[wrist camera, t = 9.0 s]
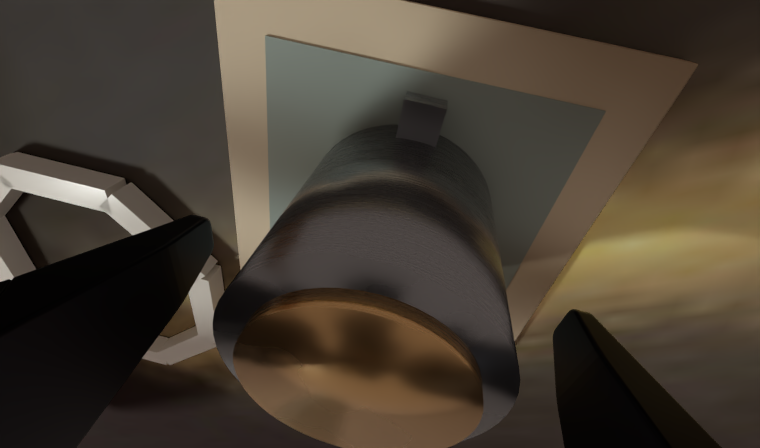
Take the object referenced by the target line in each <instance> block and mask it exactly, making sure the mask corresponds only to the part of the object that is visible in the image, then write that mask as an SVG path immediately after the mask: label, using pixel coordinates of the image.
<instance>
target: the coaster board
mask: <svg viewBox="0 0 760 448" xmlns="http://www.w3.org/2000/svg"><path fill="white" fill-rule="evenodd" d="M214 5H215V15H216V25H217V36H218V46H219V56H220V66H221V77H222V87H223V97H224V107H225V117H226V128H227V138H228V148H229V158H230V169H231V179H232V189H233V199H234V209H235V220H236V230H237V240H238V250H239V261H240V270H241V269H242V267H243V266H244V265H245V263H246V262H247V261H248V259H249V258H250V257H251V255H252V254H253V253H254V251H255V250H256V248H257V247H258V246H259V244H260V243H261V242H262V240H263V239H264V238H265V236H266V235H267V234H268V232H269V231H270V229H271V228H272V227H273V225H274V224H275V223H276V221H277V220H278V219H279V217H280V216H281V215H282V213H283V212H284V210H285V209H286V208H287V206H288V205H289V204H290V202H291V201H292V200H293V198H294V197H295V196H296V194H297V193H298V192H299V190H300V189H301V187H302V186H303V185H304V183H305V182H306V181H307V179H308V178H309V177H310V175H311V174H312V173H313V171H314V170H315V168H316V167H317V166H318V164H319V163H320V162H321V160H322V159H323V158H324V156H325V155H326V154H327V153H328V152H329V151H330V150H331V149H332V147H333V146H335V145H336V144H337V143H339V142H340V141H341V140H342V139H344V138H346V137H348V136H349V135H351V134H353V133H355V132H358V131H361V130H363V129H366V128H371V127H375V126H381V125H398V124H399V120H400V115H401V111H402V106H403V101H404V98H405V95H406V93H407V91H409V92H414V93H418V94H422V95H426V96H430V97H435V98H439V99H443V100H447V111H446V114H445V117H444V121H443V124H442V128H441V131H440V134H439V135H441V136H443V137H445V138H447V139H448V140H450V141H452V142H453V143H455V144H456V145H458V146H459V147H460V148H461V149H462V150H464V151H465V152H466V153H467V154H468V155H469V156H470V157H471V159H472V160H473V161H474V162H475V163H476V165H477V166H478V168H479V169H480V171H481V172H482V174H483V176H484V178H485V180H486V182H487V185H488V189H489V192H490V197H491V203H492V209H493V215H494V221H495V227H496V233H497V239H498V245H499V251H500V257H501V263H502V269H503V275H504V281H505V287H506V293H507V299H508V305H509V311H510V317H511V323H512V329H513V335H514V341H515V340H516V339H517V337H518V336H519V334H520V333H521V331H522V330H523V328H524V327H525V325H526V324H527V322H528V321H529V319H530V318H531V316H532V315H533V313H534V312H535V310H536V309H537V307H538V306H539V304H540V302H541V301H542V299H543V298H544V296H545V295H546V293H547V292H548V290H549V289H550V287H551V286H552V284H553V283H554V281H555V280H556V278H557V277H558V275H559V274H560V272H561V271H562V269H563V268H564V266H565V265H566V263H567V262H568V260H569V259H570V257H571V256H572V254H573V253H574V251H575V250H576V248H577V247H578V245H579V244H580V242H581V241H582V239H583V238H584V236H585V235H586V233H587V232H588V230H589V229H590V227H591V226H592V224H593V223H594V221H595V220H596V218H597V217H598V215H599V214H600V212H601V211H602V209H603V208H604V206H605V205H606V203H607V202H608V200H609V199H610V197H611V196H612V194H613V193H614V191H615V190H616V188H617V187H618V185H619V184H620V182H621V181H622V179H623V178H624V176H625V175H626V173H627V172H628V170H629V169H630V167H631V166H632V164H633V163H634V161H635V160H636V158H637V157H638V155H639V154H640V152H641V151H642V149H643V148H644V146H645V145H646V143H647V142H648V140H649V139H650V137H651V136H652V134H653V133H654V131H655V130H656V128H657V127H658V125H659V124H660V122H661V121H662V119H663V118H664V116H665V115H666V113H667V112H668V110H669V109H670V107H671V106H672V104H673V103H674V101H675V100H676V98H677V97H678V95H679V94H680V92H681V91H682V89H683V88H684V86H685V85H686V83H687V82H688V80H689V79H690V77H691V76H692V74H693V73H694V71H695V70H696V68H697V66H698V65H699V64H697V63H694V62H691V61H687V60H683V59H678V58H673V57H669V56H664V55H659V54H655V53H650V52H645V51H641V50H636V49H631V48H627V47H622V46H617V45H613V44H608V43H603V42H599V41H594V40H589V39H585V38H580V37H575V36H571V35H566V34H561V33H557V32H552V31H547V30H543V29H538V28H533V27H529V26H524V25H519V24H515V23H510V22H505V21H501V20H496V19H491V18H487V17H482V16H477V15H473V14H468V13H463V12H459V11H454V10H449V9H445V8H440V7H435V6H431V5H426V4H421V3H417V2H412V1H407V0H214Z"/></svg>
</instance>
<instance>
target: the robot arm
mask: <svg viewBox="0 0 760 448" xmlns="http://www.w3.org/2000/svg"><path fill="white" fill-rule="evenodd" d="M213 247H214V241H213V234H212V228H211V222H210V220H209V219H207V218H205V217H201V216H197V215H189V216H186V217H184V218H181V219H178V220H175V221H172V222H169V223H166V224H164V225H161V226H158V227H155V228H152V229H149V230H147V231H144V232H141V233H138V234H135V235H132V236H130V237H127V238H124V239H121V240H118V241H115V242H113V243H110V244H107V245H104V246H101V247H98V248H96V249H93V250H90V251H87V252H84V253H81V254H78V255H76V256H73V257H70V258H67V259H64V260H61V261H59V262H56V263H53V264H50V265H47V266H44V267H42V268H39V269H36V270H33V271H30V272H27V273H25V274H22V275H19V276H16V277H14V278H13V279H12V280H10V279H7V280H4V281H2V282H0V448H77V446H78V445H79V444H80V442H81V441H82V439H83V438H84V437H85V435H86V434H87V433H88V431H89V430H90V429H91V427H92V426H93V424H94V423H95V422H96V420H97V419H98V418H99V416H100V415H101V414H102V412H103V411H104V409H105V408H106V407H107V405H108V404H109V403H110V401H111V400H112V399H113V397H114V396H115V394H116V393H117V392H118V390H119V389H120V388H121V386H122V385H123V384H124V382H125V381H126V379H127V378H128V377H129V375H130V374H131V373H132V371H133V370H134V369H135V367H136V366H137V365H138V363H139V362H140V360H141V359H142V358H143V356H144V355H145V354H146V352H147V351H148V350H149V348H150V347H151V345H152V344H153V343H154V341H155V340H156V339H157V337H158V336H159V335H160V333H161V332H162V330H163V329H164V328H165V326H166V325H167V324H168V322H169V321H170V320H171V318H172V317H173V315H174V314H175V313H176V311H177V310H178V308H179V307H180V306H181V304H182V303H183V301H184V300H185V298H186V296H187V295H188V293H189V291H190V289H191V288H192V286H193V284H194V283H195V281H196V279H197V277H198V276H199V274H200V272H201V270H202V269H203V267H204V265H205V264H206V262H207V260H208V258H209V257H210V255H211V253H212V251H213ZM553 351H554V368H555V385H556V397H557V405H558V412H559V418H560V424H561V429H562V435H563V441H564V447H565V448H722V447H721V446H720V445H719V444H718V443H717V442H716V441H715V440H714V439H713V438H712V437H711V436H710V435H709V434H708V433H707V432H706V431H705V430H704V429H703V428H702V427H701V426H700V425H699V424H698V423H697V422H696V421H695V420H694V419H693V418H692V417H691V416H690V415H689V414H688V412H687V411H686V410H685V409H684V408H683V407H682V406H681V405H680V404H679V403H678V402H677V401H676V400H675V399H674V398H673V397H672V396H671V395H670V394H669V393H668V392H667V391H666V390H665V389H664V388H663V387H662V386H661V385H660V384H659V383H658V382H657V381H656V380H655V379H654V378H653V377H652V376H651V375H650V374H649V373H648V371H647V370H646V369H645V368H644V367H643V366H642V365H641V364H640V363H639V362H638V361H637V360H636V359H635V358H634V357H633V356H632V355H631V354H630V353H629V352H628V351H627V350H626V349H625V348H624V347H623V346H622V345H621V344H620V343H619V342H618V341H617V340H616V339H615V338H614V337H613V336H612V335H611V334H610V333H609V332H608V330H607V329H606V328H605V327H604V326H603V325H602V324H601V323H600V322H599V321H598V320H597V319H596V318H595V317H594V316H593V315H592V314H590V313H588V312H584V311H580V310H575V309H573V310H570V311H569V312H568V313H567V314H566V316H565V317H564V318H563V320H562V321H561V322H560V324H559V325H558V326H557V328H556V329H555V331H554V334H553Z"/></svg>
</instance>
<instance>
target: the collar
mask: <svg viewBox="0 0 760 448" xmlns="http://www.w3.org/2000/svg"><path fill="white" fill-rule="evenodd" d="M23 192H27V193H31V194H35V195H39V196H43V197H47V198H51V199H55V200H59V201H63V202H67V203H71V204H75V205H79V206H83V207H87V208H91V209H95V210H99V211H103V212H106V213H107V214H108V215H110V216H111V217H112V218H113V219H114V220H115V221H117V222H118V223H119V224H120V225H121V226H123V227H124V228H125V229H126V230H127V231H128V232H130V233H131V234H132V235H135V234H138V233H141V232H144V231H147V230H149V229H152V228H155V227H158V226H161V225H164V224H166V223H169V222H172V221H173V220H172V219H171V218H170V217H169V216H168V215H167V214H166V213H165V212H164V211H163V210H161V209H160V208H159V207H158V206H157V205H156V204H155V203H154V202H153V201H152V200H151V199H149V198H148V197H147V196H146V195H145V194H144V193H143V192H142V191H141V190H140V189H138V188H137V187H136V186H135V185H134V184H133V183H132V182H131V183H129V184H126V181H125V178H122V177H118V176H114V175H110V174H106V173H101V172H97V171H93V170H89V169H85V168H81V167H77V166H73V165H69V164H65V163H61V162H57V161H53V160H48V159H44V158H40V157H36V156H32V155H28V154H24V153H20V152H15V153H11V154H8V155H5V156H3V157H0V282H2V281H4V280H7V279H10V280H12V279H13V278H14V277H16V276H19V275H22V274H25V273H27V272H30V271H33V270H36V268H35V267H34V265H33V263H32V261H31V260H30V258H29V256H28V255H27V253H26V251H25V249H24V248H23V246H22V244H21V242H20V241H19V239H18V237H17V236H16V234H15V232H14V230H13V229H12V227H11V225H10V224H9V222H8V220H7V218H6V217H5V215H6V213H7V212H8V211H9V210H10V208H11V207H12V206H13V205H14V203H15V202H16V201H17V200H18V198H19V197H20V196H21V195H22V193H23ZM217 262H218V261H217V260H216V259H215V258H214V257H213V256H212V255H210V257H209V258H208V260H207V262H206V264H205V265H204V267H203V269H202V270H201V272H200V274H199V276H198V277H197V279H196V281H195V283H194V284H193V286H192V288H191V289H190V291H189V297H190V302H191V306H192V310H193V314H194V319H195V323H196V326H194V327H192V328H190V329H188V330H185V331H183V332H181V333H179V334H177V335H175V336H172V337H170V338H167V337H163V336H158V337H157V339H156V340H155V341H154V343H153V344H152V345H151V347H150V348H149V350H148V351H147V352H146V354H145V355H144V356H143V358H142V359H145V360H149V361H153V362H157V363H160V364H164V365H167V363H168V364H169V365H172V364H174V363H177V362H180V361H182V360H185V359H187V358H190V357H192V356H195V355H197V354H200V353H202V352H205V351H207V350H210V349H212V348H215V347H216V343H215V339H214V336H213V324H212V323H213V316H214V311H215V308H216V306H217V303H218V301H219V299H220V298H221V296H222V295H223V293H224V285H223V278H222V271H221V266H220V265H216V263H217Z"/></svg>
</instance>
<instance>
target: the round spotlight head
mask: <svg viewBox="0 0 760 448" xmlns="http://www.w3.org/2000/svg"><path fill="white" fill-rule="evenodd" d="M446 111H447V100H443V99H439V98H435V97H430V96H426V95H422V94H418V93H414V92H409V91H407V93H406V95H405V98H404V101H403V106H402V111H401V115H400V120H399V124H398V125H381V126H375V127H371V128H366V129H363V130H361V131H358V132H355V133H353V134H351V135H349V136H348V137H346V138H344V139H342V140H341V141H340V142H339V143H337V144H336V145H335V146H333V147H332V149H331V150H330V151H329V152H328V153H327V154H326V155H325V156H324V158H323V159H322V160H321V162H320V163H319V164H318V166H317V167H316V168H315V170H314V171H313V173H312V174H311V175H310V177H309V178H308V179H307V181H306V182H305V183H304V185H303V186H302V187H301V189H300V190H299V192H298V193H297V194H296V196H295V197H294V198H293V200H292V201H291V202H290V204H289V205H288V206H287V208H286V209H285V210H284V212H283V213H282V215H281V216H280V217H279V219H278V220H277V221H276V223H275V224H274V225H273V227H272V228H271V229H270V231H269V232H268V234H267V235H266V236H265V238H264V239H263V240H262V242H261V243H260V244H259V246H258V247H257V248H256V250H255V251H254V253H253V254H252V255H251V257H250V258H249V259H248V261H247V262H246V263H245V265H244V266H243V267H242V269H241V270H240V271H239V273H238V274H237V276H236V277H235V278H234V280H233V281H232V282H231V284H230V285H229V286H228V288H227V289H226V291H225V292H224V293H223V295H222V296H221V298H220V299H219V301H218V303H217V306H216V308H215V311H214V316H213V323H212V324H213V336H214V339H215V343H216V347H217V349H218V351H219V353H220V356H221V358H222V359H223V361H224V363H225V364H226V366H227V367H228V369H229V370H230V371H231V373H232V374H233V375H234V376H235V377H236V379H237V380H238V381H239V382H240V383H241V384H242V386H243V387H244V389H245V390H246V391H247V393H248V394H249V395H250V396H251V398H252V399H253V400H254V401H256V402H257V403H258V404H259V405H260V406H261V407H262V408H263V409H264V410H266V411H267V412H268V413H269V414H271V415H272V416H274V417H275V418H277V419H278V420H280V421H281V422H283V423H285V424H286V425H288V426H290V427H292V428H293V429H295V430H297V431H299V432H301V433H304V434H306V435H308V436H310V437H313V438H315V439H318V440H321V441H323V442H326V443H329V444H332V445H336V446H339V447H343V448H447V447H450V446H453V445H455V444H457V443H458V442H461V441H464V440H467V439H470V438H473V437H475V436H477V435H479V434H481V433H483V432H485V431H487V430H489V429H490V428H492V427H493V426H495V425H496V424H498V423H499V422H500V421H501V420H502V419H503V418H504V417H505V416H506V415H507V414H508V412H509V411H510V409H511V408H512V406H513V405H514V403H515V401H516V398H517V395H518V393H519V385H520V374H519V365H518V359H517V353H516V347H515V341H514V335H513V329H512V323H511V317H510V311H509V305H508V299H507V293H506V287H505V281H504V275H503V269H502V263H501V257H500V251H499V245H498V239H497V233H496V227H495V221H494V215H493V209H492V203H491V197H490V192H489V189H488V185H487V182H486V180H485V178H484V176H483V174H482V172H481V171H480V169H479V168H478V166H477V165H476V163H475V162H474V161H473V160H472V159H471V157H470V156H469V155H468V154H467V153H466V152H465V151H464V150H462V149H461V148H460V147H459V146H458V145H456V144H455V143H453V142H452V141H450V140H448V139H447V138H445V137H443V136H441V135H439V134H440V131H441V128H442V124H443V121H444V117H445V114H446Z"/></svg>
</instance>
